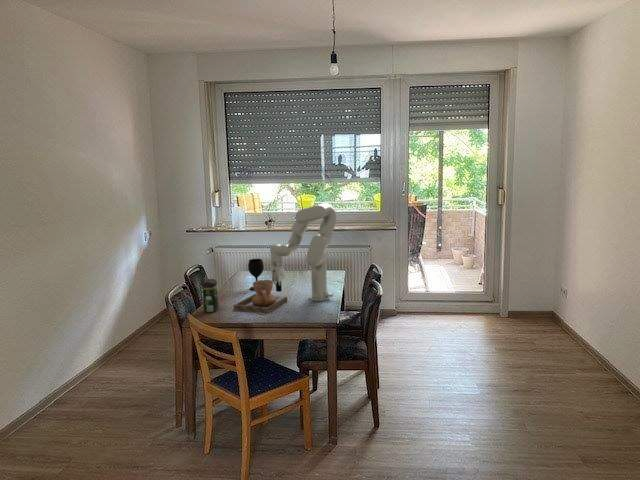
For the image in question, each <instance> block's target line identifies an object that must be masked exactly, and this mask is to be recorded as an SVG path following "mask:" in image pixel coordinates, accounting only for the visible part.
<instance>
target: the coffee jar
mask: <svg viewBox="0 0 640 480" xmlns="http://www.w3.org/2000/svg"><path fill="white" fill-rule="evenodd" d="M201 289H202V298H203V301H202V302H203V303H202V304H203V312H205V313H216V312H217V311H218V310H219V308H220V307H219V306H220V305H219V297H218V296H219V295H218V282H217V280H216V279H215V278H207V279H206V280H204V281H202V283H201Z"/></svg>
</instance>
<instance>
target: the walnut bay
mask: <svg viewBox="0 0 640 480" xmlns="http://www.w3.org/2000/svg"><path fill="white" fill-rule="evenodd" d="M256 295H257V294H256V293H254V294H251V295H250V296H248V297H246V298H244V299H242V300H240V301H239V302H236V303H235V304H233V311H240V312H250V313H259V314H260V313H261V314H271V312H273V311H275V310H277V309H278V308H279V307H282V305H285V304H286V303H287V302H288V296H284V297H282V298H280V299H279V300H276V301H275V303H274V304H272V305H270V306H256V305H248V304H250V303H252V299H253V297H254V296H256Z"/></svg>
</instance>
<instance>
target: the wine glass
mask: <svg viewBox="0 0 640 480" xmlns="http://www.w3.org/2000/svg"><path fill="white" fill-rule="evenodd" d="M247 267H248V273H249V274H250V275H252V277H254V279H255V281H258V278H259V276H261V275H262V274H263V272H264V269H265V268H264V267H265V265H264V261H263V259H260V258H251V259H249V260H248V264H247ZM249 290H250V291H254V292H255V289H254V287H253V286H250V287H249Z"/></svg>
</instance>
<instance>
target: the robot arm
mask: <svg viewBox="0 0 640 480" xmlns="http://www.w3.org/2000/svg"><path fill="white" fill-rule="evenodd" d="M317 220H321V223H320V226H319V229H318V233H317V234H316V235H314V236H312V238H311V241H310V243H309V246H308V250H307V253H306V264H307V265H308V266H310V268H311V269H310V277H311V278H310V279H311V281H310V282H311V295H309V300H311V301H316V302H322V301H327V300H329V299H330V298H333V297H334V293H332V292H329V290H328V287H327V286H328V285H327V284H328V283H327V280H328V279H327V264H328V263H327V262H328V254H327V252H326V251H325V249H326V248H327V247H329V246H330V244H331V240H332V237H333V233H334V229H335V225H336V221H337V213H336V210H335V208H334V207H333V206H332V204H330V203H326V202H322V203H319V204H316V205H313V206H310V207H307V208H302V209H299V210H297V212H296V213H295V221H294V223H293V224H292V226H291V231H292V233H291V236H290V238H289V240H288V242H287V243H284V244H280V243H274V244H271V245H270V247H269V249H270V250H269V251H270V252H269V253H270V263H271V264H270V265H271V281H273V285H275V290H276V292H278V293H281V292H282V291H283V289H282V288H283V287H282V284H283V283H282V282H283V281H284V280H285V279H286V274H285V267H284V260H283V259H284V258H283V257H289V256H292V254H295V253H296V251H297V250H298V248H299V246H300V244H301V242H302V240H303V237H304V235H305V233H306V231H307V229H308V228H309V225H310V224H311V222H314V221H317Z"/></svg>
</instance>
